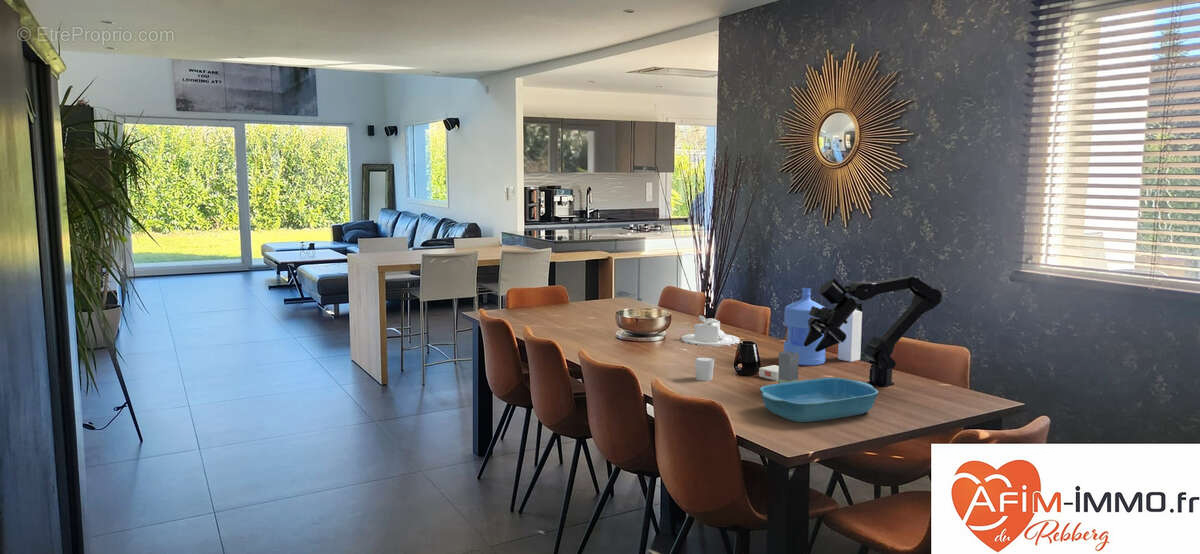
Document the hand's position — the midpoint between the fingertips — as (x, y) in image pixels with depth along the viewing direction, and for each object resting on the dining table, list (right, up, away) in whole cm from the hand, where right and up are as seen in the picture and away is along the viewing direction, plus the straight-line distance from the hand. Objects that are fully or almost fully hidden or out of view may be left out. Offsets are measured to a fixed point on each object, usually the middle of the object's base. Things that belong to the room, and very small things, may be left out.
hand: (810, 348), depth 270 cm
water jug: (+8, -9, +40) cm, 41 cm away
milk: (+26, -8, +44) cm, 52 cm away
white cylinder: (-34, -12, +12) cm, 38 cm away
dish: (-22, -4, +81) cm, 84 cm away
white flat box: (-8, -11, +15) cm, 20 cm away
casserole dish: (-5, -17, -27) cm, 32 cm away
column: (-8, -13, -1) cm, 15 cm away
